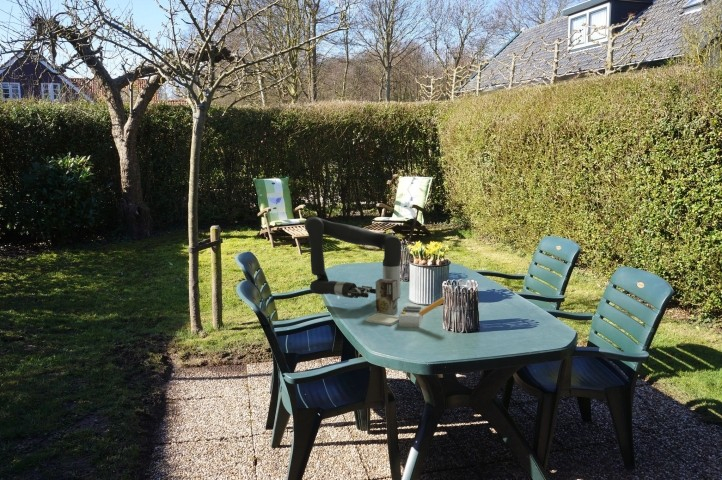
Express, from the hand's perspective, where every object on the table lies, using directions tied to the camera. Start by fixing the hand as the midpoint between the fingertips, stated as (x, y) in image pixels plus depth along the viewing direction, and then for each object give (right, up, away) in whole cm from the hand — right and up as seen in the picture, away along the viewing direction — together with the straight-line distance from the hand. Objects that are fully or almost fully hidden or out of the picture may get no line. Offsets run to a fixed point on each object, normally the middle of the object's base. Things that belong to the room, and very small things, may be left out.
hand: (372, 293), depth 276 cm
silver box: (+17, -11, -18) cm, 27 cm away
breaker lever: (+21, -7, -23) cm, 31 cm away
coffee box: (+7, -9, -3) cm, 12 cm away
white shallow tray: (+5, -11, -15) cm, 19 cm away
